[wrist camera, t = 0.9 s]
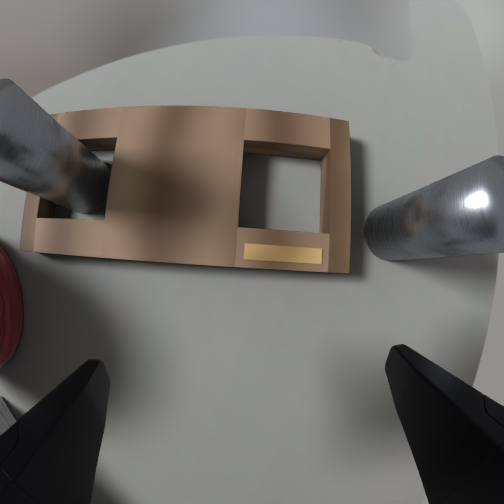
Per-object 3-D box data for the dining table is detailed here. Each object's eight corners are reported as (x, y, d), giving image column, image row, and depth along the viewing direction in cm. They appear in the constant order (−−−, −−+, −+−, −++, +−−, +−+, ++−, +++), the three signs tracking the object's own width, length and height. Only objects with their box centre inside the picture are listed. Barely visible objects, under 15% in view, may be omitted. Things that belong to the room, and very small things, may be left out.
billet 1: (122, 189, 22) (27, 115, 9) (80, 224, 22) (-37, 186, 9) (97, 149, 22) (8, 63, 9) (57, 183, 22) (-49, 125, 9)
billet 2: (419, 239, 23) (542, 217, 10) (384, 271, 23) (509, 271, 10) (390, 194, 23) (504, 140, 10) (353, 225, 23) (466, 184, 10)
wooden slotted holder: (338, 134, 23) (349, 120, 21) (337, 272, 23) (349, 273, 20) (57, 126, 22) (43, 115, 19) (36, 252, 21) (18, 250, 19)
